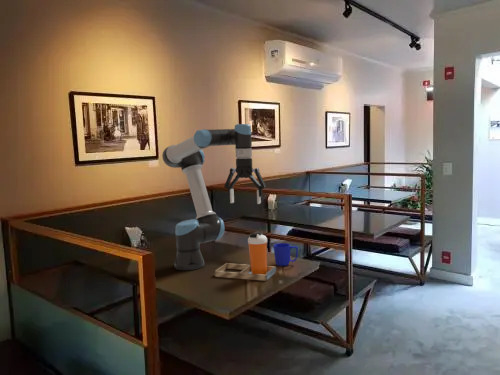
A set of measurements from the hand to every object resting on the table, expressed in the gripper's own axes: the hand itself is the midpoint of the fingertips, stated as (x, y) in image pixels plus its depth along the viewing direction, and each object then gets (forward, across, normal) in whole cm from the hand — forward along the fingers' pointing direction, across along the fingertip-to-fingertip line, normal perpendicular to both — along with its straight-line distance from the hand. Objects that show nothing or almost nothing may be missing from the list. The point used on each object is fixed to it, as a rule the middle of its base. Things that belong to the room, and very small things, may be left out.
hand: (245, 203), depth 194 cm
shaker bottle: (+33, +7, -3) cm, 34 cm away
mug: (+34, +14, +15) cm, 40 cm away
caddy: (+33, 0, -3) cm, 34 cm away
